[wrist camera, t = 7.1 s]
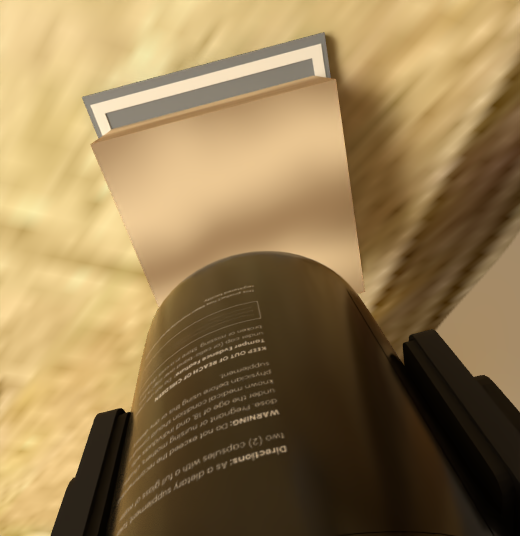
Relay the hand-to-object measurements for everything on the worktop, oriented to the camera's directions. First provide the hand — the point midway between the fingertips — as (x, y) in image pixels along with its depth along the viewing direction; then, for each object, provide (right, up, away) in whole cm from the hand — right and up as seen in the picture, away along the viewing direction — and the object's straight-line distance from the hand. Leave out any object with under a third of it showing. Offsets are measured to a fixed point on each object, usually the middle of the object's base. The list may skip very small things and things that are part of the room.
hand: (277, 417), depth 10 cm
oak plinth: (-2, +8, +17) cm, 18 cm away
